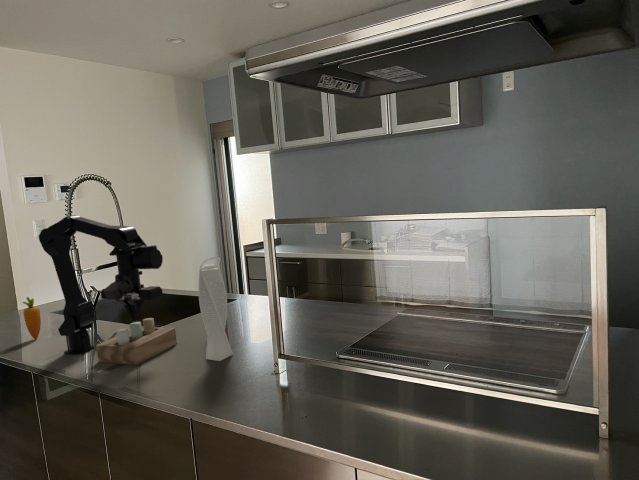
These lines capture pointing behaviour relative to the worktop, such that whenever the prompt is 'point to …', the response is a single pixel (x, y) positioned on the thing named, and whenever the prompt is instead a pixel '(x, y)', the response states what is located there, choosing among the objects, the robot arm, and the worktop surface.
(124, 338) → the plug grey
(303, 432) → the worktop surface
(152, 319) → the plug beech
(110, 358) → the wooden plug holder
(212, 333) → the skyscraper
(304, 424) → the worktop surface
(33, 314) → the carrot
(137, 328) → the plug green
